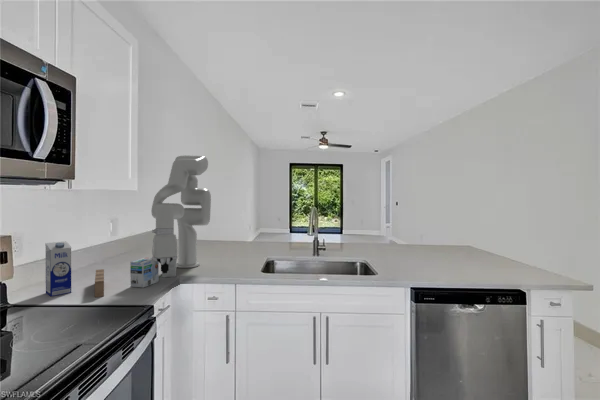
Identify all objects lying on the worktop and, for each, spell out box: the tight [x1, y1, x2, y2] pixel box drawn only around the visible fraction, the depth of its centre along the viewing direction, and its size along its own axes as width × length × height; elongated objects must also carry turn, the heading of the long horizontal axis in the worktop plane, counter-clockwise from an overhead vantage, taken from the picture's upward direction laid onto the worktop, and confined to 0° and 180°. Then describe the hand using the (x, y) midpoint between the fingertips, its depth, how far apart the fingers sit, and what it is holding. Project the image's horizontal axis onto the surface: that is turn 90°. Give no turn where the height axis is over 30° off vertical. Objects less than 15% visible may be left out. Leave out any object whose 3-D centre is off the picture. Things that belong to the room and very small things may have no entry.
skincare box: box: [161, 258, 178, 278], centre depth 163 cm, size 8×7×16 cm
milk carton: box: [45, 240, 72, 297], centre depth 133 cm, size 7×7×20 cm
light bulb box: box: [129, 256, 160, 288], centre depth 147 cm, size 11×7×11 cm, turn 168°
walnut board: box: [94, 269, 105, 298], centre depth 138 cm, size 22×3×6 cm, turn 30°
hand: (164, 272), depth 151 cm, fingers closed
